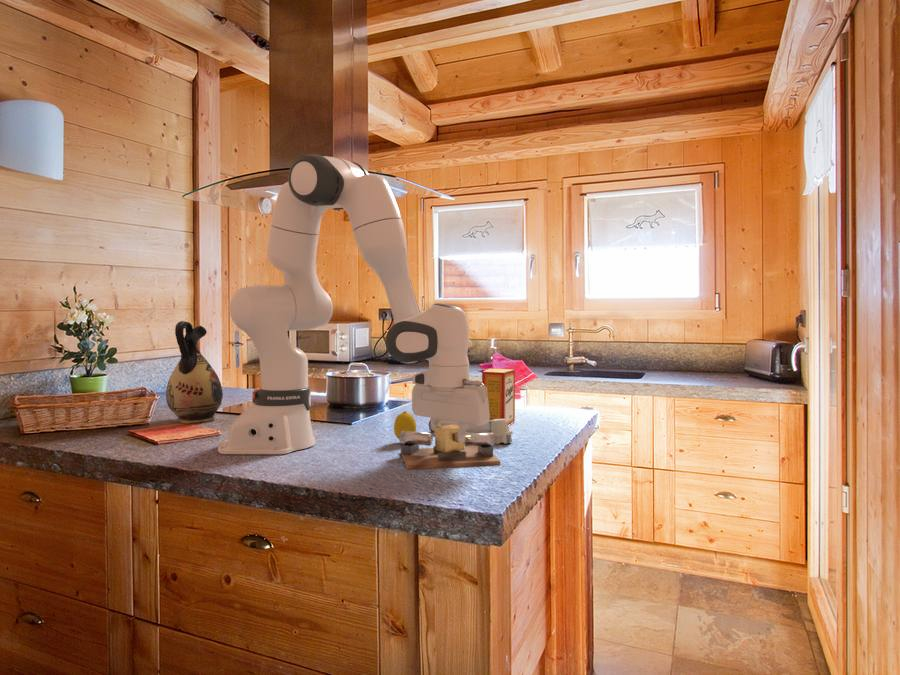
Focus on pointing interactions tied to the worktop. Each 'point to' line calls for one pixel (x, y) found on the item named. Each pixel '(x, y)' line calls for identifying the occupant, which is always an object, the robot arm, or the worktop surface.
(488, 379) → the baking soda box
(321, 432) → the worktop surface
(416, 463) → the shaft bench
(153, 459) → the worktop surface
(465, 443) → the shaft
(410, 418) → the lemon
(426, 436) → the shaft
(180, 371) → the ceramic jug
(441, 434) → the coupling block
